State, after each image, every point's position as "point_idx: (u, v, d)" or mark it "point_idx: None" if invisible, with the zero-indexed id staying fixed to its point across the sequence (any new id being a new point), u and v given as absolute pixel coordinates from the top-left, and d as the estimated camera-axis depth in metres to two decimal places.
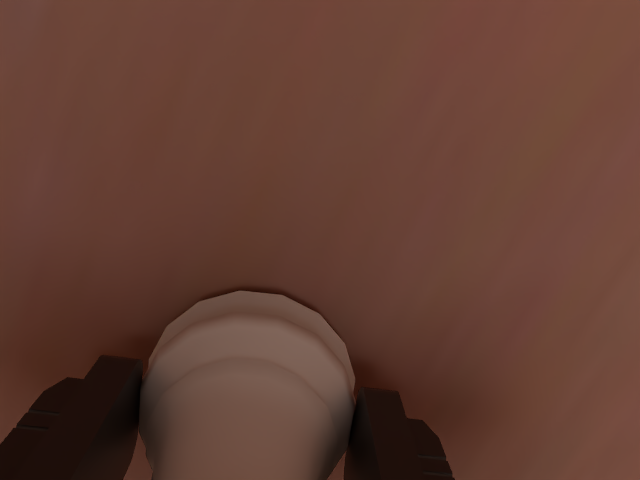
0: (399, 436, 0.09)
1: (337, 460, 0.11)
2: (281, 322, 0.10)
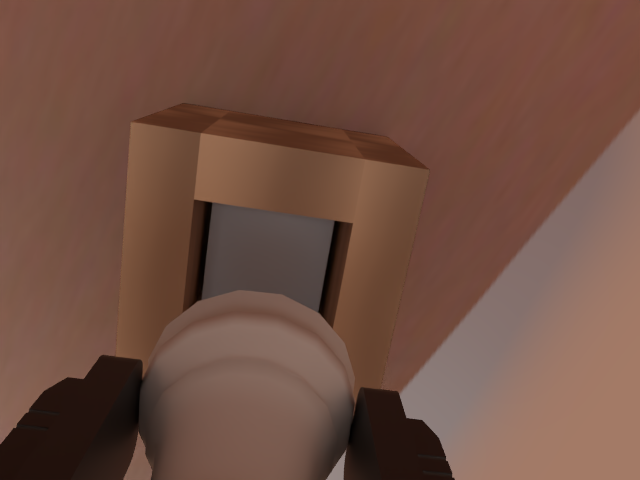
0: (399, 436, 0.09)
1: (337, 459, 0.11)
2: (281, 321, 0.10)
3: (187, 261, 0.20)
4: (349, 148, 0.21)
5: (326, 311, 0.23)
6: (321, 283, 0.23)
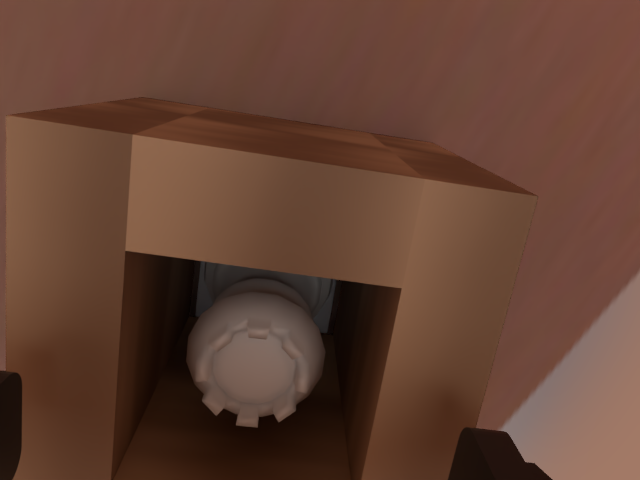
0: None
1: (322, 303, 0.18)
2: None
3: (119, 354, 0.11)
4: (390, 159, 0.13)
5: (351, 411, 0.15)
6: (332, 292, 0.20)
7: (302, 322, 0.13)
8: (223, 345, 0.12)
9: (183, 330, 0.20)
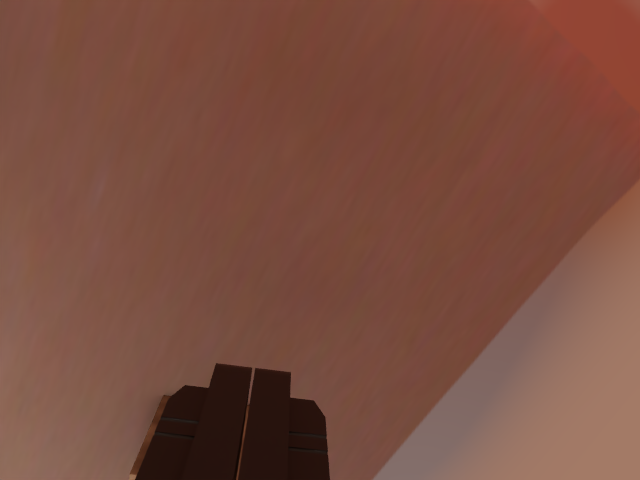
0: (276, 414, 0.09)
1: None
2: None
3: None
4: None
5: None
6: None
7: None
8: None
9: None
